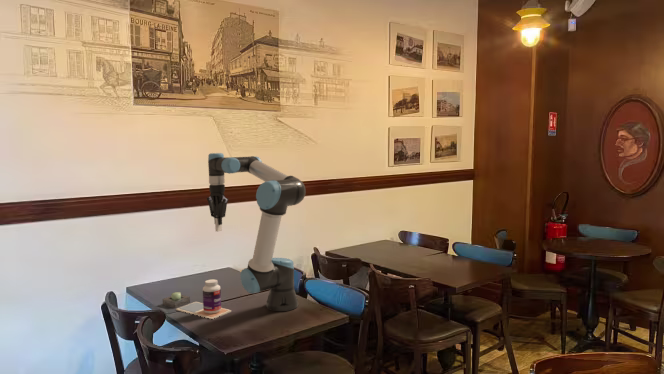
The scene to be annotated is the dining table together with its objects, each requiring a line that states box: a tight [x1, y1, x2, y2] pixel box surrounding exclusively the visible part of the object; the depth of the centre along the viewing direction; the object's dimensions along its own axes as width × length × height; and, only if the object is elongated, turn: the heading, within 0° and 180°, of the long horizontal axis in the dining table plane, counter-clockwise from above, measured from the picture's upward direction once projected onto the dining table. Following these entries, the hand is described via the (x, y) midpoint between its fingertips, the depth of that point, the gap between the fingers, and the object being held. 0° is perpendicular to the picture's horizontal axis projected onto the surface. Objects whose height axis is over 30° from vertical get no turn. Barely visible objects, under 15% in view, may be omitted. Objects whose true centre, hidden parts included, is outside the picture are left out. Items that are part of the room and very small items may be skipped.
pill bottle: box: [202, 279, 222, 314], centre depth 219 cm, size 8×8×14 cm
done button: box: [170, 291, 182, 300], centre depth 233 cm, size 4×4×4 cm
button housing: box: [162, 294, 191, 309], centre depth 233 cm, size 9×9×3 cm
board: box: [175, 301, 232, 320], centre depth 223 cm, size 24×12×1 cm, turn 58°
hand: (218, 230), depth 239 cm, fingers closed
